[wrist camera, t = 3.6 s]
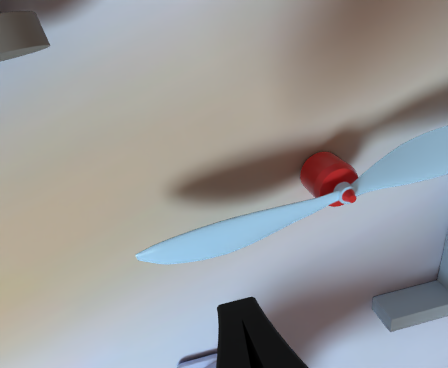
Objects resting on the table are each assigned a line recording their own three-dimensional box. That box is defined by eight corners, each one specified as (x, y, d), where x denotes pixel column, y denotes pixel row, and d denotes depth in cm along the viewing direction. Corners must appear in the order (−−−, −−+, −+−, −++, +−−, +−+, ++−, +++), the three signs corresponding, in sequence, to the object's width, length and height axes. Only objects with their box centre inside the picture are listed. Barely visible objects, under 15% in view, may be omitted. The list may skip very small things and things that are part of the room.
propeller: (481, 149, 23) (541, 170, 20) (149, 248, 22) (148, 293, 18) (490, 92, 21) (559, 104, 18) (127, 196, 20) (120, 233, 16)
